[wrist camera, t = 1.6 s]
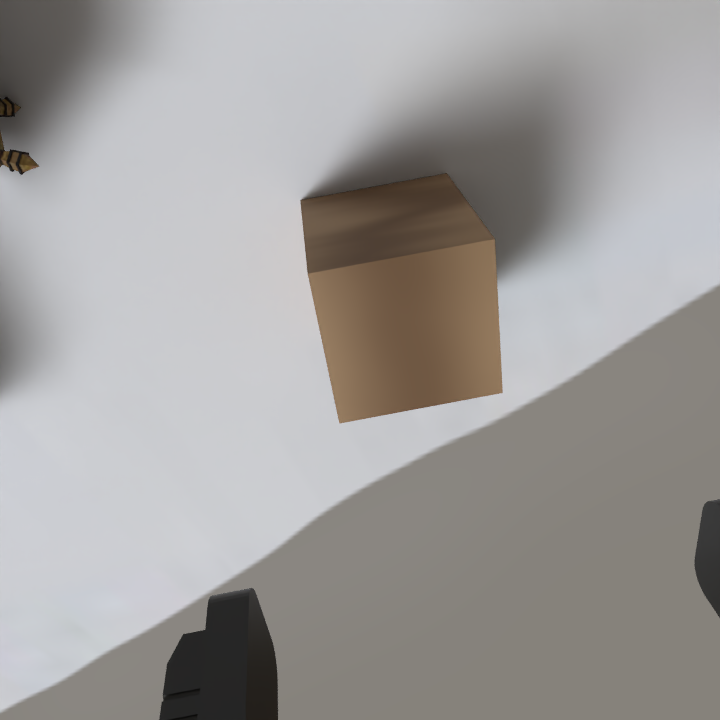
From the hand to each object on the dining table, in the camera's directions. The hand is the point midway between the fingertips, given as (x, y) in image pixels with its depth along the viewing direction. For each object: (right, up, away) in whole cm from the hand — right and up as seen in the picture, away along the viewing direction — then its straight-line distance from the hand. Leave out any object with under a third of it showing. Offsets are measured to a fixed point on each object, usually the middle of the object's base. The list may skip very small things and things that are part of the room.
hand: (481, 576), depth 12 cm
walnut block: (-1, +8, +12) cm, 15 cm away
